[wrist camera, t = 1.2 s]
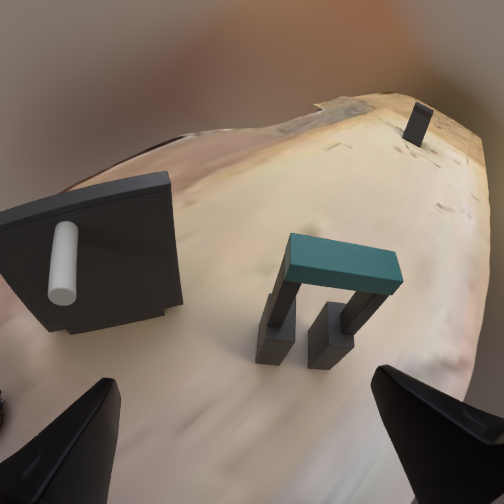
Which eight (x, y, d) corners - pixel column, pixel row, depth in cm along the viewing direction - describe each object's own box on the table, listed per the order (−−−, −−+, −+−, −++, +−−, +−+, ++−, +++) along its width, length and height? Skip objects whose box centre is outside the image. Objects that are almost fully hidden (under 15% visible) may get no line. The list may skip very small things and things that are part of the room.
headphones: (329, 370, 24) (406, 292, 14) (255, 363, 24) (289, 276, 14) (328, 332, 27) (392, 242, 17) (259, 324, 26) (290, 222, 17)
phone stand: (419, 147, 68) (433, 113, 59) (402, 137, 69) (415, 103, 60) (420, 140, 73) (433, 108, 64) (404, 131, 75) (416, 100, 66)
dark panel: (199, 357, 23) (189, 245, 13) (58, 385, 19) (-45, 299, 8) (168, 250, 31) (156, 129, 20) (55, 275, 26) (4, 168, 16)
